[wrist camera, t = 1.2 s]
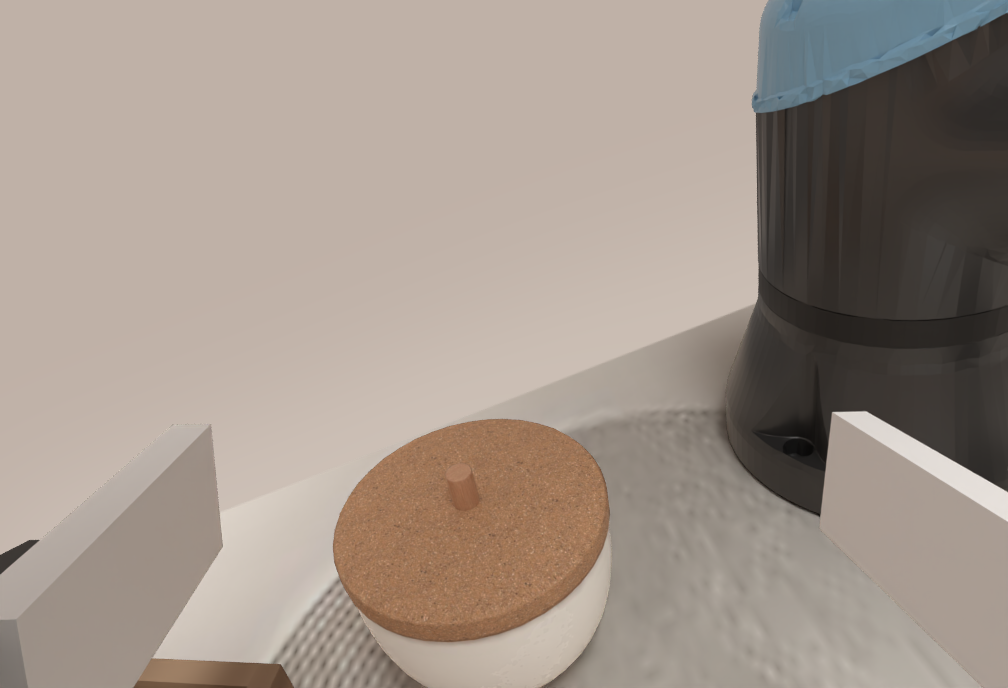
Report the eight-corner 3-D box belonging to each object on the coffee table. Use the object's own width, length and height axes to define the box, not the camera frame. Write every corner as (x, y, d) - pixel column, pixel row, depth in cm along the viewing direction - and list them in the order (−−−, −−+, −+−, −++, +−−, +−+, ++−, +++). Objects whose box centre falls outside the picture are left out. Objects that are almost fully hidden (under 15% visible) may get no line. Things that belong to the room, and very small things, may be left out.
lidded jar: (682, 652, 29) (665, 481, 24) (450, 815, 25) (375, 652, 21) (543, 506, 37) (509, 358, 33) (354, 613, 34) (285, 464, 29)
